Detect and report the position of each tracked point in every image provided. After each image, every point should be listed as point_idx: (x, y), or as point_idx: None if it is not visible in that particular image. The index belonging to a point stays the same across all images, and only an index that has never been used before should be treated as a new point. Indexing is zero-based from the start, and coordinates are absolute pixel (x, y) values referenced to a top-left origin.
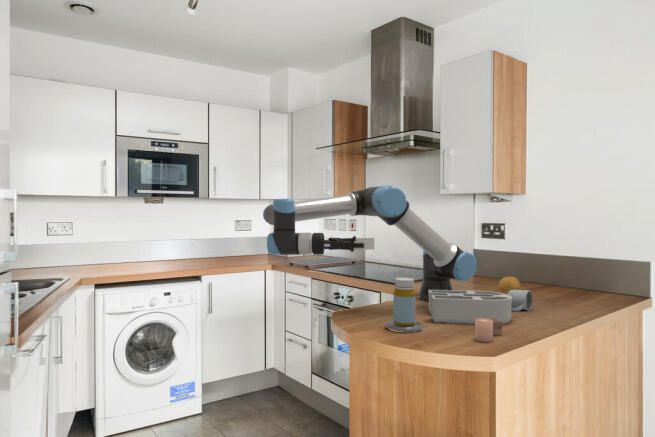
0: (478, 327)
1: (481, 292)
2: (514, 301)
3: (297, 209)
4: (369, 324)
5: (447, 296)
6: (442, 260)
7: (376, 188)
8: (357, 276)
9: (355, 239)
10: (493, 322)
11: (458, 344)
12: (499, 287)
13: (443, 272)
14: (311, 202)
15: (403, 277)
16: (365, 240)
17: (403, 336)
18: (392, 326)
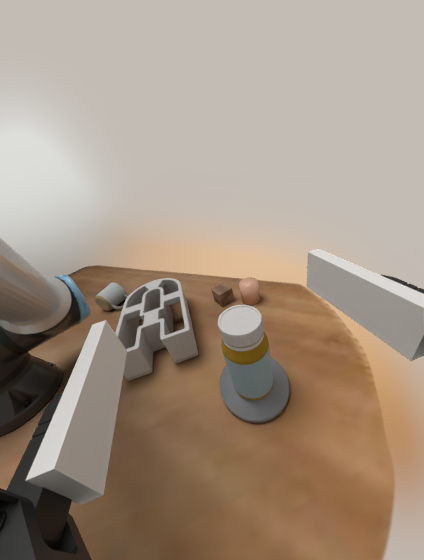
0: (257, 290)
1: (127, 303)
2: (117, 299)
3: None
4: (269, 476)
5: (164, 321)
6: (58, 308)
7: None
8: None
9: (26, 500)
10: (228, 286)
11: (285, 309)
12: None
13: (49, 334)
14: None
15: (219, 326)
16: (101, 377)
17: (304, 369)
18: (281, 395)
